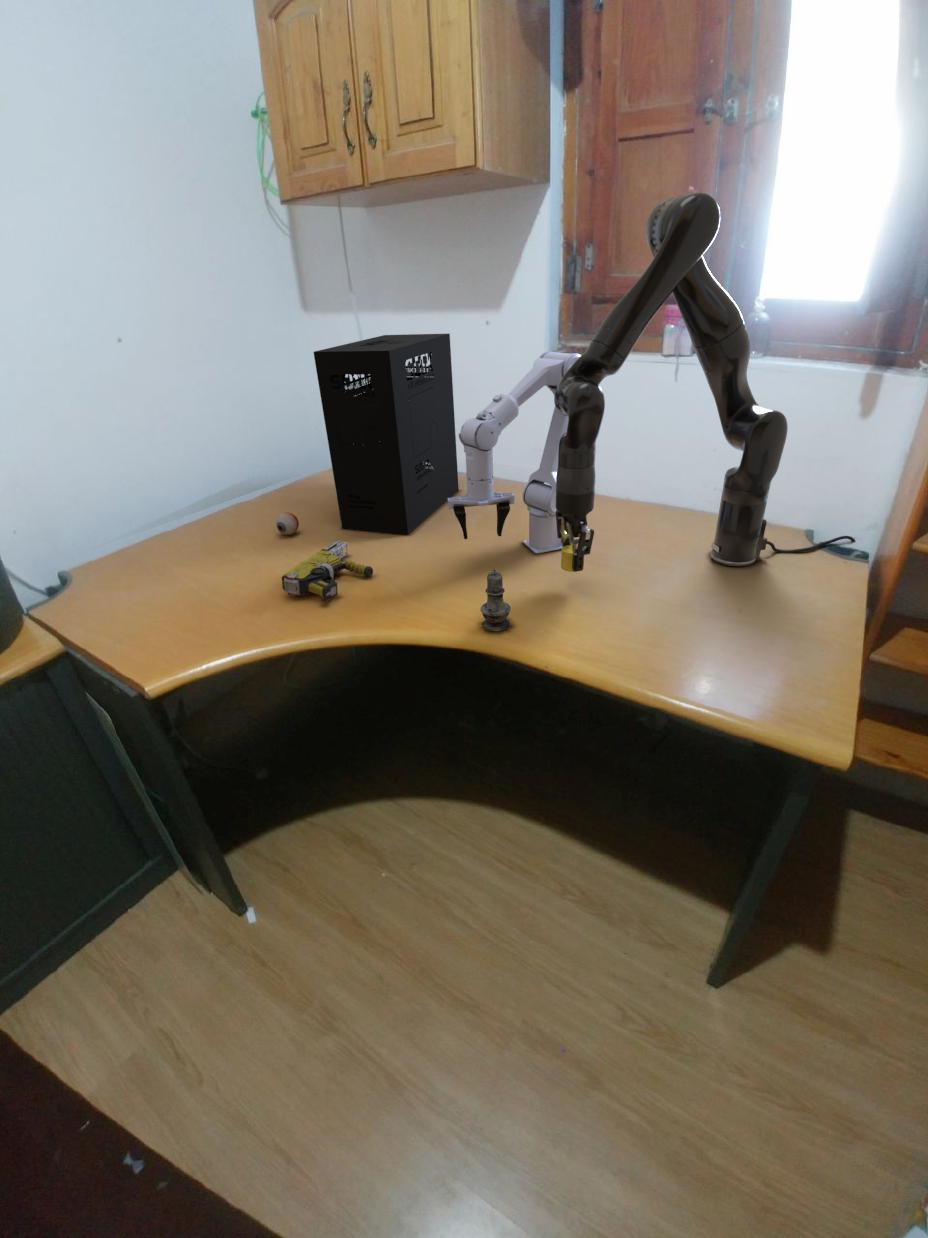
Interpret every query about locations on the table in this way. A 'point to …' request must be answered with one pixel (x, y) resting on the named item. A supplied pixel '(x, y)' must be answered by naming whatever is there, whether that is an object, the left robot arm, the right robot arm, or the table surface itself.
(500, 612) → the grey tall turned piece
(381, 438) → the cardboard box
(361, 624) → the table surface
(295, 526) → the eyeball
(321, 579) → the toy gun
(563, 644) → the table surface
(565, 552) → the tin
